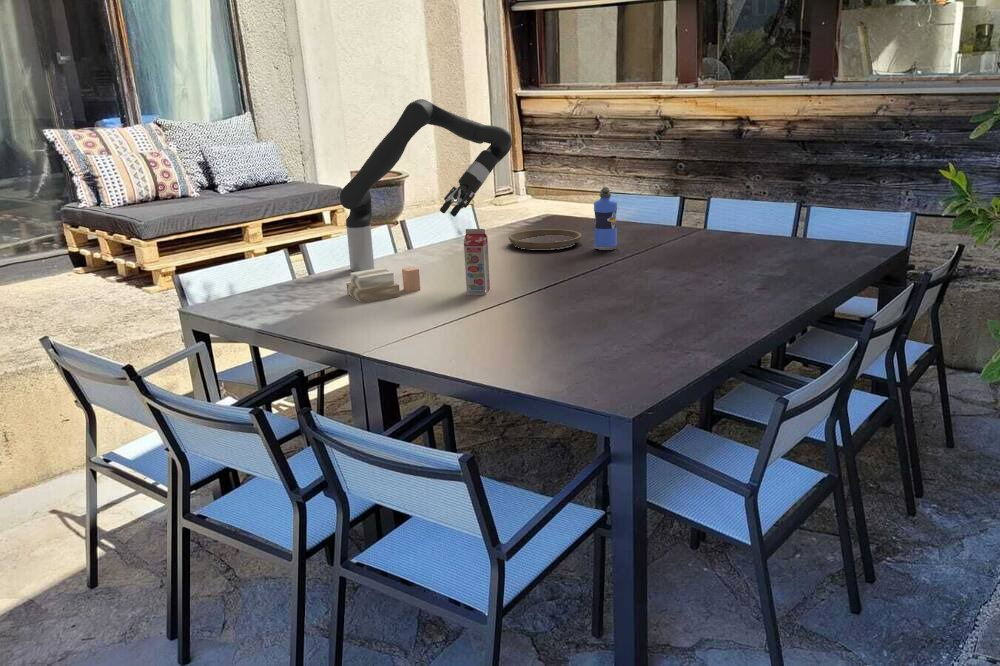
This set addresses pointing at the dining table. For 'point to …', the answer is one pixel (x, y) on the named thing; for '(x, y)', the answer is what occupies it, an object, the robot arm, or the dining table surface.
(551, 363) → the dining table surface
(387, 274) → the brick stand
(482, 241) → the juice carton
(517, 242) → the plant saucer
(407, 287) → the terracotta brick
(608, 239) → the water bottle
